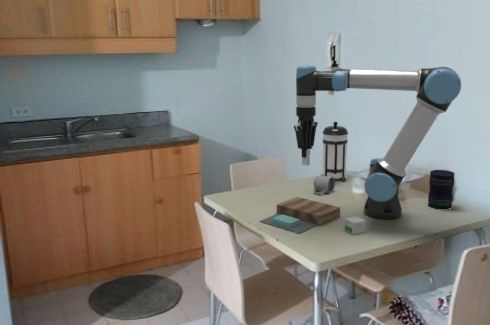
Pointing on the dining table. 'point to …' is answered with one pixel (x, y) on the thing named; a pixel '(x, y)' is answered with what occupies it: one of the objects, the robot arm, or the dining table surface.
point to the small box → (354, 225)
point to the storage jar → (441, 189)
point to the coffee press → (335, 151)
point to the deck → (309, 210)
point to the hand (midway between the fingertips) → (305, 164)
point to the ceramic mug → (324, 184)
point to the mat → (297, 229)
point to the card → (286, 221)
